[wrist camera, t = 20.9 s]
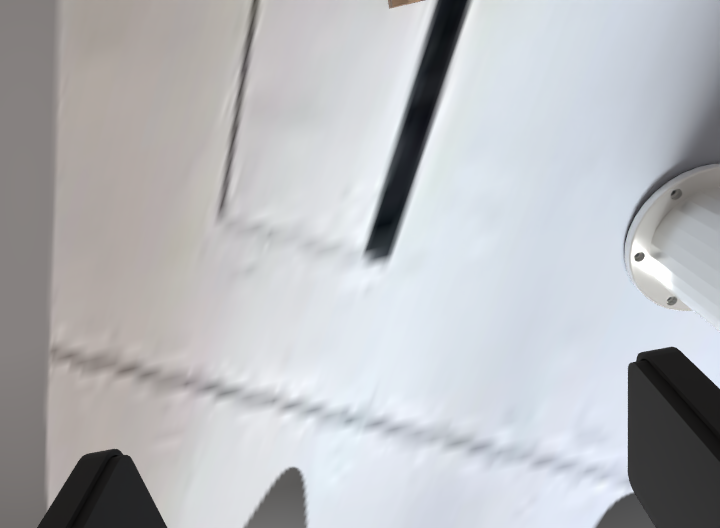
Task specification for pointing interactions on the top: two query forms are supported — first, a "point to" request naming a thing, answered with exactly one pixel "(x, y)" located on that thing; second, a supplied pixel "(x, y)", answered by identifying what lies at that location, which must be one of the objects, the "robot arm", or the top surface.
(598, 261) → the top surface
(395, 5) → the brown wooden shallow tray
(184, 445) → the top surface
